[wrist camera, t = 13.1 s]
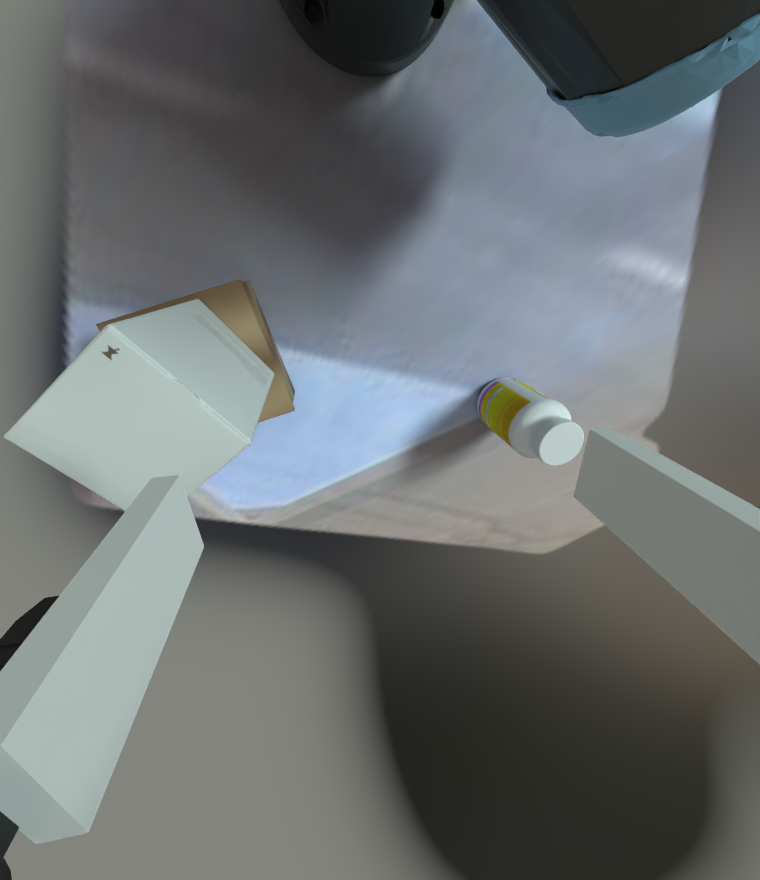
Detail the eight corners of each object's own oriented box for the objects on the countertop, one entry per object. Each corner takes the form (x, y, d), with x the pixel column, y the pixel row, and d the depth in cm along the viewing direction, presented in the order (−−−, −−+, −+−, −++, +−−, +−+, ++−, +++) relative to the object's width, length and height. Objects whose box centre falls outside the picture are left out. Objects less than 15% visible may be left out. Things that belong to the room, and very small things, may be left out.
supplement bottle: (473, 428, 47) (525, 479, 35) (475, 379, 44) (532, 418, 32) (521, 421, 48) (587, 469, 36) (526, 372, 45) (599, 407, 33)
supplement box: (128, 365, 31) (-11, 436, 18) (198, 295, 30) (104, 316, 17) (212, 434, 35) (150, 534, 22) (278, 375, 34) (254, 443, 20)
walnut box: (129, 316, 35) (95, 324, 30) (250, 278, 35) (239, 279, 30) (193, 425, 41) (174, 449, 35) (297, 392, 41) (294, 410, 36)
